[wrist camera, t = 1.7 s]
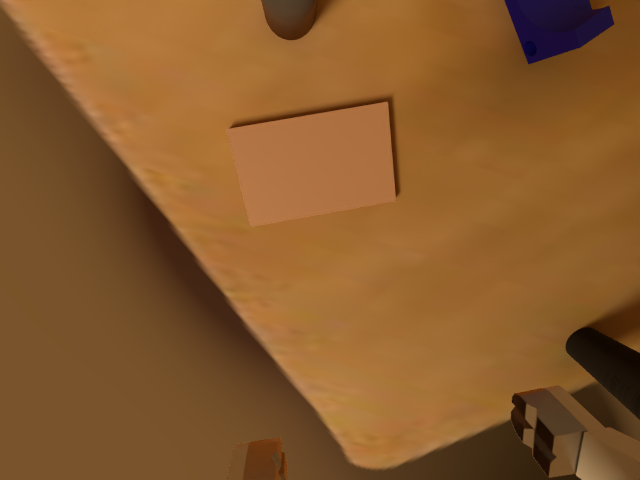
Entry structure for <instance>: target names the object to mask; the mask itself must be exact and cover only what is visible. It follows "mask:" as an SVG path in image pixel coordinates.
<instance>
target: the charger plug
mask: <svg viewBox="0 0 640 480" xmlns="http://www.w3.org/2000/svg"><path fill="white" fill-rule="evenodd" d="M261 1H262V5H263V9H264V13H265V17H266V21H267V23H268V25H269V27H270V28H271V30H272V31H273V32H274V33H275V34H276V35H278V36H279V37H281V38H283V39H286V40H296V39H299V38H301V37H303V36H304V35H306V34H307V33H308V31H309V30H310V29H311V27H312V25H313V22H314V18H315V12H316V5H317V0H261Z"/></svg>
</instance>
